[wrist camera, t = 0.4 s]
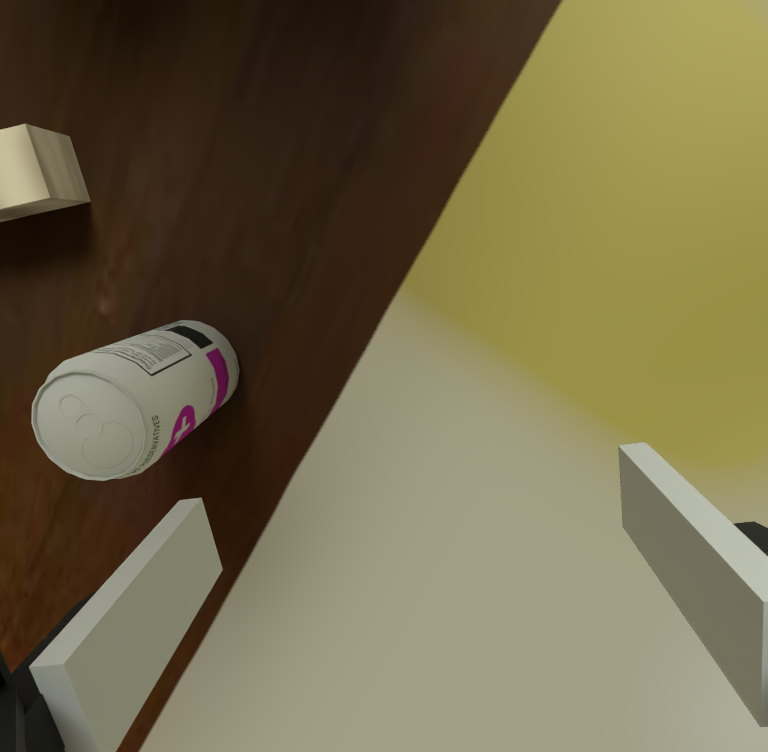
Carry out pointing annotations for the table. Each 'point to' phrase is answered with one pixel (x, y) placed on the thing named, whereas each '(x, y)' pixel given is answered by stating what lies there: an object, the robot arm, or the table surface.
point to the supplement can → (133, 399)
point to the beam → (37, 172)
